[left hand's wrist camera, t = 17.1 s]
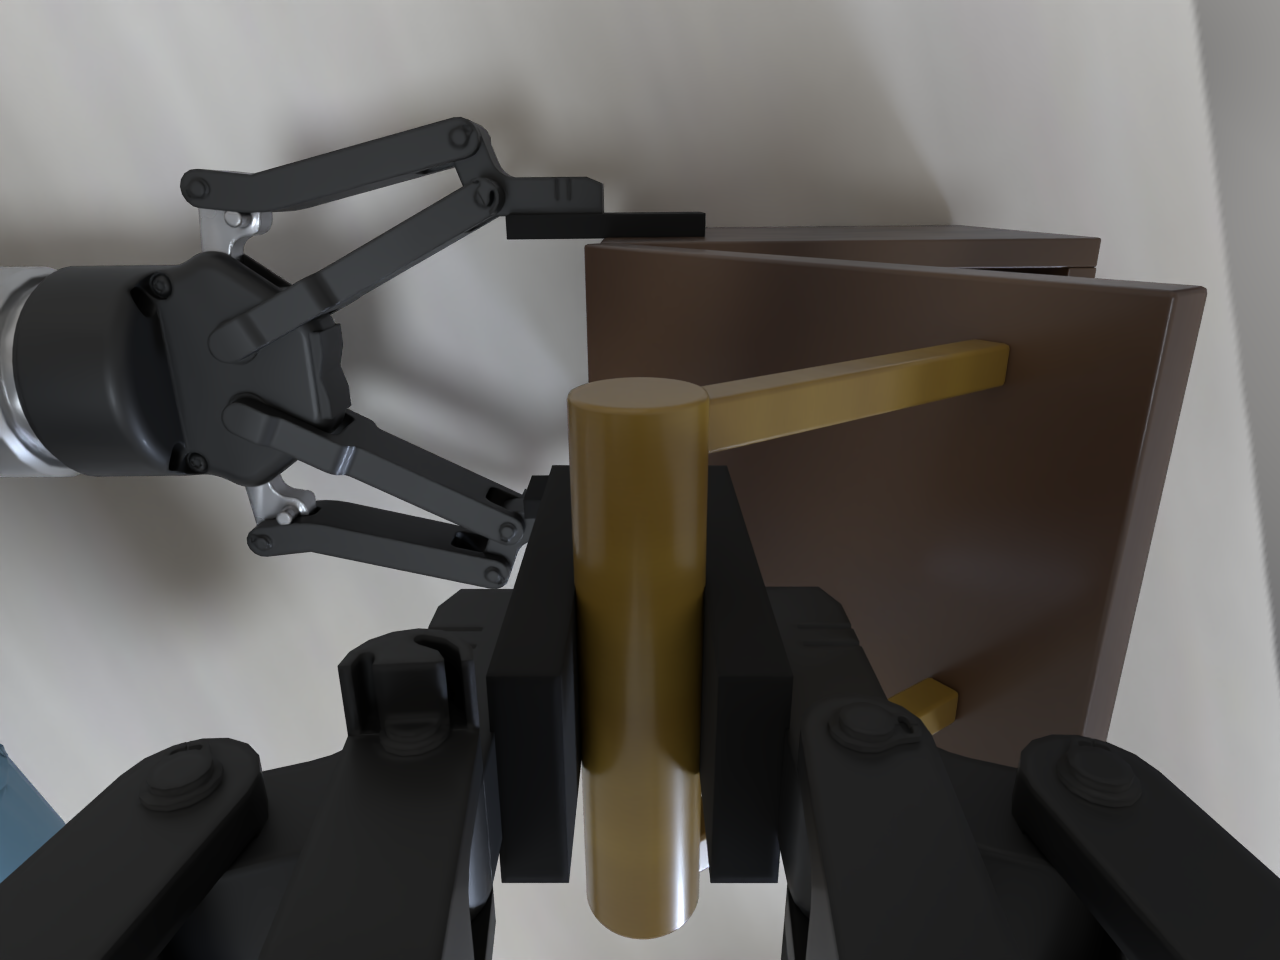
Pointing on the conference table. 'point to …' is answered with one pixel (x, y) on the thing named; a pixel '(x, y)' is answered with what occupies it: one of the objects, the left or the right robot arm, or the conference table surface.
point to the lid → (855, 506)
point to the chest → (905, 246)
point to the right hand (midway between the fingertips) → (699, 367)
